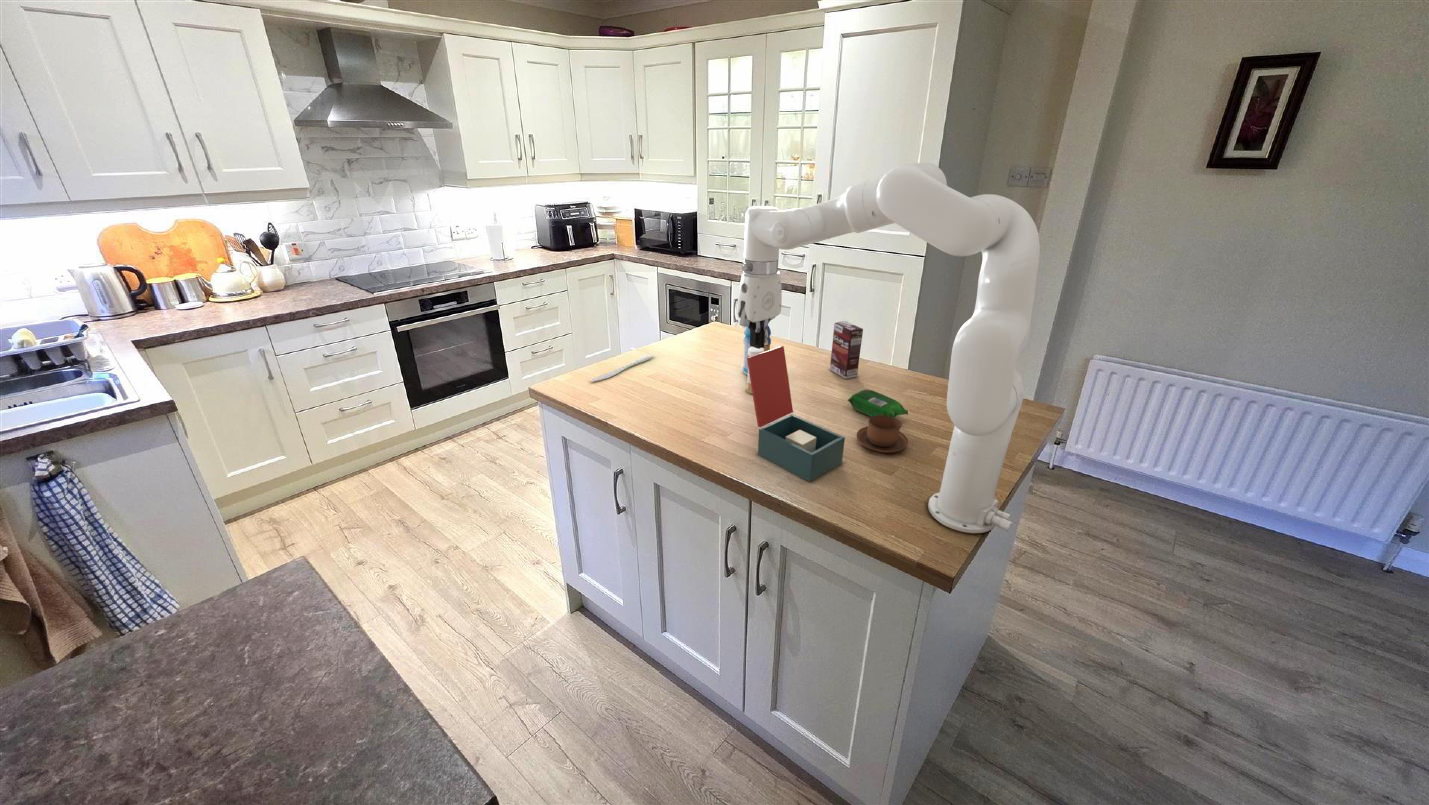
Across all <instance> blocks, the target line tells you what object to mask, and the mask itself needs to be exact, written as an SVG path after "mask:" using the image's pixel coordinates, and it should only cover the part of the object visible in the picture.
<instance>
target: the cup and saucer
mask: <svg viewBox="0 0 1429 805" xmlns="http://www.w3.org/2000/svg"><path fill="white" fill-rule="evenodd" d="M901 428H902V420H899V419H898V418H896V417H895V418H893V417H890V416H886V415H875V416H872V417H871V416H869V418H868V422H867V426H864V427H861V428H860V429H859V430H857V432H856V439H857V441H858V442H859V443H860V444H861V445H862V446H863V447H865V448H866V449H868V450H871V451H875V452H878V453H885V454H886V453H888V454H891V453H897V452H900V451H902V450H904V449H905V448H907V446H908V444H909V439H908V437H907V436H906V434H904V433H903V432H902V431H900V429H901Z"/></svg>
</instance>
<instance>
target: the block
mask: <svg viewBox="0 0 1429 805" xmlns="http://www.w3.org/2000/svg"><path fill="white" fill-rule="evenodd" d="M816 439H817V437H815V436H812V435H810V434H808V433H806V432H804V431H802V430H798V431H796V432H794V433H792V434H790V435H788V436H786V440H787V441H789V442H791V443H793V444H795V445H797V446H799V447H801V448H803V449H805V450H807V451H809V452H811V453H812V452H814V451H815V449H816Z"/></svg>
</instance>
